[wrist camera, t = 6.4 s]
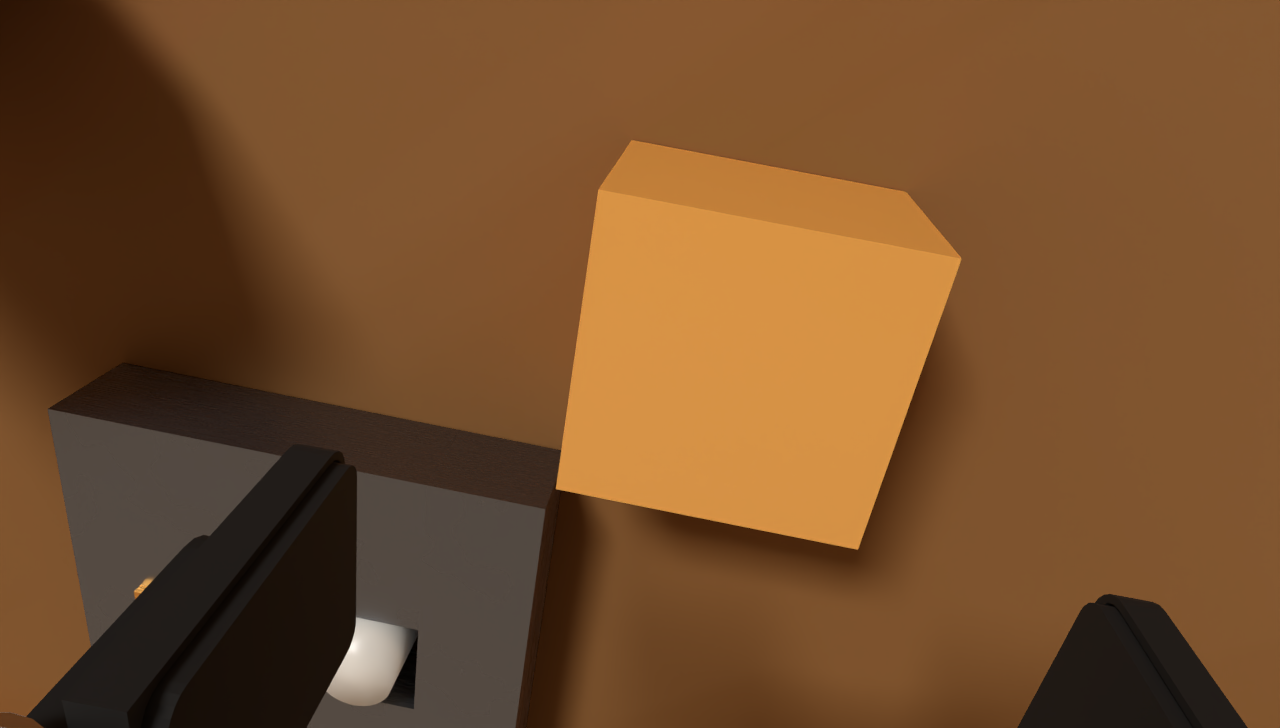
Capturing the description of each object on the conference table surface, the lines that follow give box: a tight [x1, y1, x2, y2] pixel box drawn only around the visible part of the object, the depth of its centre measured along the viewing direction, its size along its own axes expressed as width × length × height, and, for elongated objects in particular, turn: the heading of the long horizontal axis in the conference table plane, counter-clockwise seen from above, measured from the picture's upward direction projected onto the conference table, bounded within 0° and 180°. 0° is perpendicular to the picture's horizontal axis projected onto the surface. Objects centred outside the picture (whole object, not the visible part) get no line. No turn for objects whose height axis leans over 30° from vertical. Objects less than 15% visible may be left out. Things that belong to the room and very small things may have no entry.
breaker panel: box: [48, 363, 561, 728], centre depth 28 cm, size 14×22×3 cm, turn 170°
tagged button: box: [326, 617, 418, 706], centre depth 26 cm, size 2×2×3 cm
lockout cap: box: [556, 140, 962, 550], centre depth 19 cm, size 7×7×6 cm
